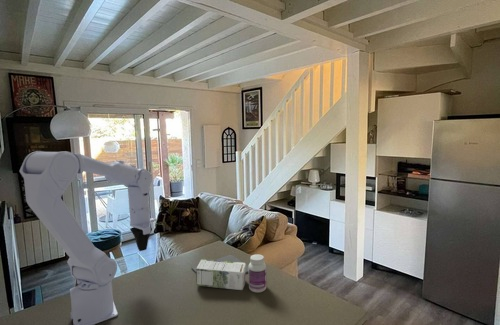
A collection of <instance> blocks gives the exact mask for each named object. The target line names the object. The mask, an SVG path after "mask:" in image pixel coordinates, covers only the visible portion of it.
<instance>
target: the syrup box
mask: <svg viewBox="0 0 500 325" xmlns="http://www.w3.org/2000/svg"><path fill="white" fill-rule="evenodd" d="M246 264H247V263H246V262H244V263H241V262H230V261H218V260H215V259H207V258H206V259H205V258H201V259H200V261H199V263H198V266H197V265H196V266H197V268H196V273H195V277H196V278H195V284H196V286H197V287H206V288H217V289H218V288H219V289H225V290H226V289H227V290H235V291H236V290H237V291H238V290H239V291H243V290H244V288H245V285H246V274H247V273H246Z"/></svg>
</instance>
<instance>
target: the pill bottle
mask: <svg viewBox="0 0 500 325" xmlns="http://www.w3.org/2000/svg"><path fill="white" fill-rule="evenodd" d="M249 261H250V262H249V264H248V288H249V290H250V291H251V292H252V293H262V292H264V291H265V290H266V289H267V264H266V263H265V256H264V255H262V254H252V255H250V260H249Z"/></svg>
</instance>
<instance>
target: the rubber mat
mask: <svg viewBox="0 0 500 325" xmlns="http://www.w3.org/2000/svg"><path fill="white" fill-rule="evenodd" d="M214 260H218V261H230V262H241V263H245V262H243V261H242V260H240V259H239V258H237V257H236V256H234V255H233V254H227V255H225V256H222V257H219V258H216V259H214ZM197 266H198V265H195V266H192V267H191V270H192V271H194V273H195V274H196V268H197ZM248 266H249V264H247V263H246V273H245V274H247V273H248ZM248 274H249V273H248Z"/></svg>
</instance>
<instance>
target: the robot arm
mask: <svg viewBox="0 0 500 325" xmlns="http://www.w3.org/2000/svg"><path fill="white" fill-rule="evenodd" d="M124 163H125V162H124V161H123V160H116V161H112V162H109V163H108V162H104V161H101V160H98V159H95V158H92V157H89V156H87V155H84V154H81V153H75V152H71V151H66V150H65V151H43V150H42V151H41V150H36V151H33V152H31V153H29V154H27V155H26V156H25V158H24V159H23V162H22V164H21V166H20V169H19V173H20V175H21V177H22V178H23V182H24V190H25V192H24V194H25V201H26V203H27V205H28V207H29V208H30V209H31V211H33V213H34V214H35V216H36V217H37V218H38V220H40V222H41V223H42V225H43V226H44V228H46V229H47V231H48V232H49V233H50V234H51V236H52V237H53V238H54V239H55V241H56V242H57V243H58V245H59V246H60V247H61V249H63V251H64V252H65V253H66V255H67V256H68V257H69V258H68V260H67V262H66V263H67V265H68V266H69V269H70V275H71V276H72V277H73V278H74V279H75V280H76V284H78V285H76V286H74V287H71V288H70V289H69V294H70V296H69V297H70V303H71V305H70V306H71V311H70V319H71V320H72V322H73V325H96V324H99V323H101V322H104V321H107V320H110V319H112V318H113V319H114V318H115V317H117V316H118V315H119V314H118V310H117V308H116V307H117V306H116V305H115V302H114V297H113V296H114V294H113V284H112V282H113V280H114V278H115V276H116V274H117V270H118V265H117V264H118V263H117V261H116V260H115V259H113V258H110V257H109V256H108V255H107V254H106V253H105V252H104V251H102V250H101V249H99V248H97V247H96V246H95V245H94V244H93V242H92V241H91V239H90V238H89V236H88V235H87V233H86V232H85V231H84V229H83V228H82V226H81V225H80V224H79V222H78V220H77V219H76V218H75V215H73V213H72V212H71V211H70V209H69V208H68V206H67V205H66V203H65V202H64V200H63V199H62V196H63V194H64V193H65V192H66V191H67V189H68V188H69V186H70V185H71V184H72V182H73V181H74V179H75V178H76V176H77V175H78V174H80V175H81V174H83V172H84V173H89V174H95V175H99V176H104V178H105V180H106V181H107V182H109V183H113V184H119V185H123V186H124V187H125V188H127V196H128V207H129V208H128V210H129V227H131V228H130V229H129V230H130V232H131V233H132V235H133V238H134V240H135V243H136V245H137V246H136V247H137V250H138V251H139V252H143V251H147V249H148V244H149V238H150V235H151V234H152V231H153V227H151V225H152V223H153V222H155V219H154V218H153V217H151V210H150V209H151V208H150V198H149V197H150V196H149V193H150V191H151V184H152V182H153V176H151V173H150V171H148V170H147V169H145V168H137V167H136V166H137V165H135V164H134V165H133V164H130V165H128V164H124Z"/></svg>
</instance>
